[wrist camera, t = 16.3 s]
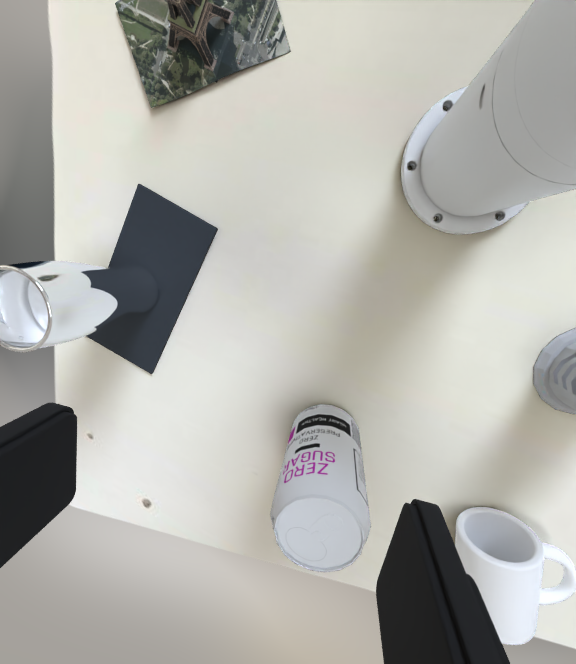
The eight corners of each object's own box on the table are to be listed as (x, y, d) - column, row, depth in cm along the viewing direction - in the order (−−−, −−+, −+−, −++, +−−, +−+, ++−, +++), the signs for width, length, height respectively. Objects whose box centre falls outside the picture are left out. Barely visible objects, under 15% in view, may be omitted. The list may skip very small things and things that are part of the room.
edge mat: (140, 184, 35) (138, 183, 35) (218, 228, 35) (216, 228, 35) (86, 334, 41) (83, 334, 41) (152, 373, 41) (151, 374, 40)
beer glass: (164, 265, 37) (53, 272, 22) (160, 322, 39) (54, 363, 24) (109, 254, 37) (-34, 253, 23) (107, 311, 39) (-26, 344, 25)
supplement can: (328, 473, 40) (323, 594, 26) (278, 431, 40) (246, 531, 26) (373, 433, 38) (396, 540, 24) (322, 388, 38) (313, 470, 23)
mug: (444, 569, 41) (468, 642, 34) (446, 504, 39) (473, 565, 31) (548, 577, 39) (599, 655, 32) (556, 508, 37) (613, 575, 29)
